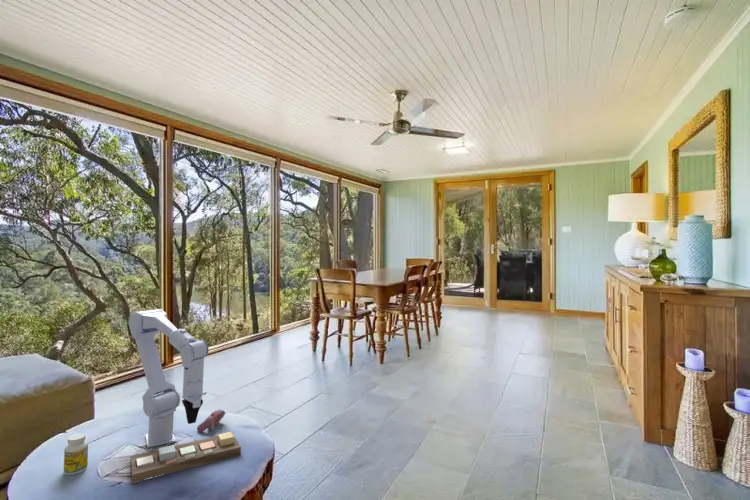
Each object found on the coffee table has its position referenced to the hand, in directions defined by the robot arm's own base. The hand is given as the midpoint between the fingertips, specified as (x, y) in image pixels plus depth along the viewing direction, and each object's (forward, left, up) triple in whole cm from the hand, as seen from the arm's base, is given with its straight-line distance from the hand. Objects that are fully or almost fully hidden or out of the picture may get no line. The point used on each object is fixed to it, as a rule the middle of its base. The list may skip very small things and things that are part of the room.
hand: (191, 422), depth 120 cm
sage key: (+4, -2, -9) cm, 10 cm away
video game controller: (-14, +10, -10) cm, 20 cm away
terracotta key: (+4, +4, -9) cm, 11 cm away
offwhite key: (+4, -13, -9) cm, 16 cm away
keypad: (+4, -2, -9) cm, 10 cm away
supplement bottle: (-6, -29, -10) cm, 31 cm away
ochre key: (+4, +10, -8) cm, 13 cm away
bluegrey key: (+4, -7, -8) cm, 11 cm away
